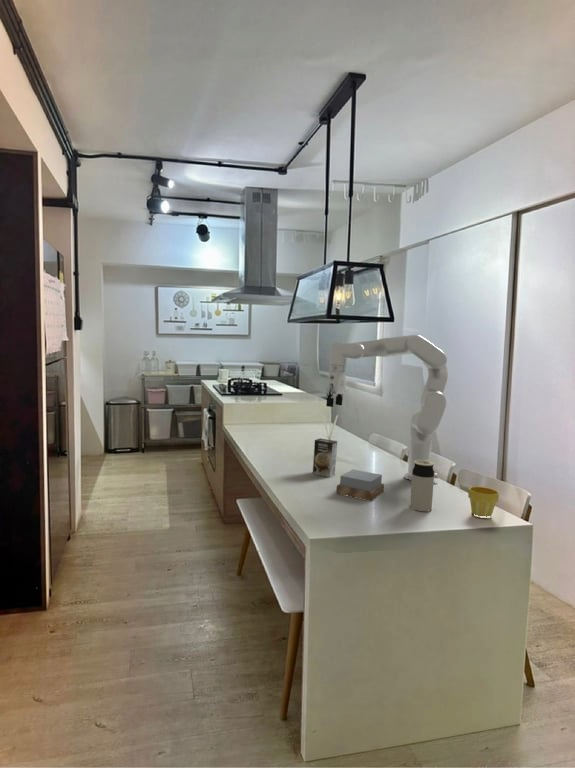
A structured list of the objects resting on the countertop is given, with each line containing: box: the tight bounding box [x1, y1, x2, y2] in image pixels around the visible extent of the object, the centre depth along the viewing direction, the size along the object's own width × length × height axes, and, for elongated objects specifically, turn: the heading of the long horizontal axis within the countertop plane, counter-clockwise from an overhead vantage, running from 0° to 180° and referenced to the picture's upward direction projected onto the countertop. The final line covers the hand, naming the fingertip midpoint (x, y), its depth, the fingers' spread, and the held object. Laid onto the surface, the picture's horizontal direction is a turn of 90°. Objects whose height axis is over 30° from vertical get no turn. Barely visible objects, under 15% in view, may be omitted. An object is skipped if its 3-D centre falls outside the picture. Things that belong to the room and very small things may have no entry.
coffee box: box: [312, 438, 338, 478], centre depth 230 cm, size 9×6×16 cm
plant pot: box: [467, 486, 500, 517], centre depth 183 cm, size 10×10×10 cm
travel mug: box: [409, 460, 435, 512], centre depth 188 cm, size 8×8×18 cm
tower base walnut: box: [335, 483, 385, 502], centre depth 205 cm, size 15×15×4 cm
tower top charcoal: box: [339, 469, 383, 491], centre depth 205 cm, size 13×13×4 cm
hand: (334, 405), depth 230 cm, fingers open, 9 cm apart
